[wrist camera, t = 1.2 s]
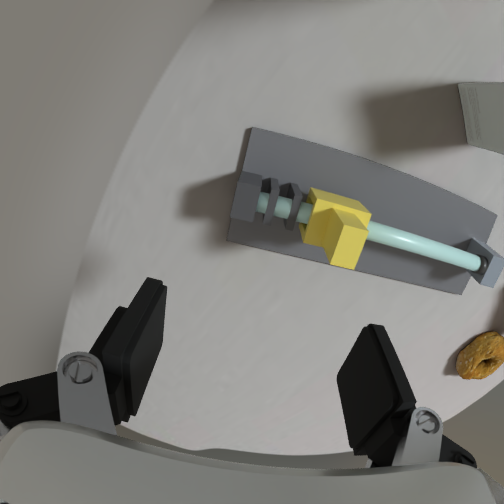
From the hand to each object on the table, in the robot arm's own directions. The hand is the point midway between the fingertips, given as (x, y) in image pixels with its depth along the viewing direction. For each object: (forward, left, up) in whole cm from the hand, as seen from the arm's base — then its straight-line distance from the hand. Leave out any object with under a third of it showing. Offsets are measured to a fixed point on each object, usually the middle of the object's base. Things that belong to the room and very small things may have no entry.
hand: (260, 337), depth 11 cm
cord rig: (0, +12, -22) cm, 25 cm away
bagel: (+16, +43, -22) cm, 51 cm away
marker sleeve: (0, +6, -19) cm, 20 cm away
